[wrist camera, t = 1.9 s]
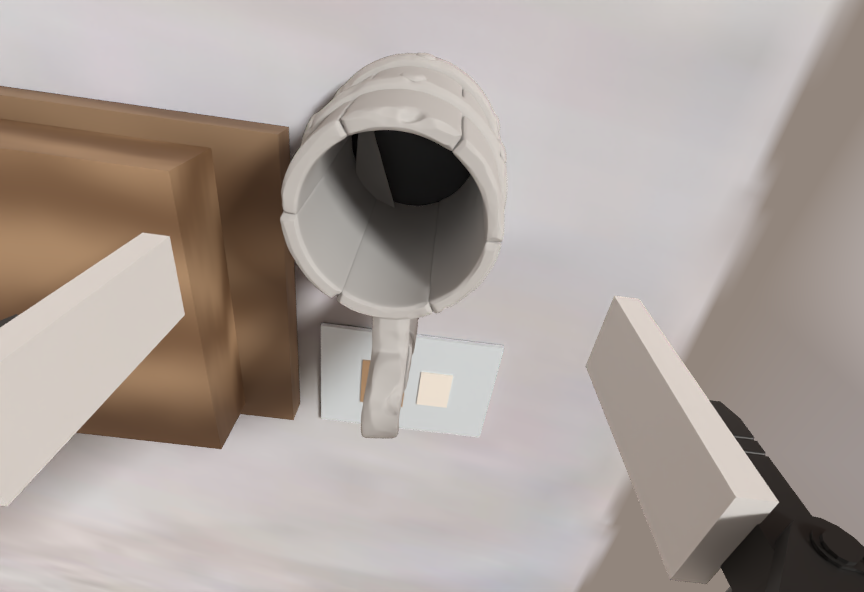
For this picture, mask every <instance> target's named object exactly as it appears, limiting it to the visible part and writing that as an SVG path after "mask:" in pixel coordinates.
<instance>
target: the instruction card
mask: <svg viewBox="0 0 864 592" xmlns="http://www.w3.org/2000/svg"><path fill="white" fill-rule="evenodd" d="M371 351H372V329H368V328H360V327H352V326H344V325H336V324H328V323H322V324H321V419H324V420H333V421H341V422H350V423H358V424H361V413H362V407H363V400H364V394H365V388H366V383H367V377H368V371H369V366H370V360H371ZM503 352H504V345H496V344H488V343H480V342H472V341H464V340H456V339H448V338H440V337H432V336H424V335H417V336H416V342H415V348H414V353H413V355H412V360H411V367H410V371H409V378H408V382H407V386H406V389H405V391H404V393H403V397H402V404H401V409H400V415H399V428H401V429H410V430H418V431H427V432H436V433H444V434H453V435H461V436H470V437H478V438H480V434H481V430H482V427H483V423H484V420H485V416H486V412H487V409H488V405H489V402H490V398H491V395H492V391H493V387H494V384H495V380H496V377H497V373H498V369H499V366H500V362H501V359H502V355H503Z"/></svg>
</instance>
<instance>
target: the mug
mask: <svg viewBox="0 0 864 592" xmlns="http://www.w3.org/2000/svg"><path fill="white" fill-rule="evenodd" d="M375 130H397V131H403V132H408V133H413V134H416V135H419V136H422V137H425V138H427V139H430V140H432V141H434V142H436V143H438V144H439V145H441V146H443V147H445V148H446V149H448V150H450V151H452V152H453V154H454V155H455V156H456V157H457V158H458V159H459V160H460V161H461V163H462V164H463V165H464V166H465V167H466V168H467V170H468V171H469V173H470V176H469V177H468V179H467V180H466V182H465V183H464V184H463V185H462V186H461V187H460V188H459V189H458V190H457V191H456V192H455V193H453V194H452V195H450V196H449V197H447V198H444V199H442V200H440V201H439V202H435V203H432V204H428V205H422V206H413V205H405V204H401V203H397V202H394V201H393V199H392V195H391V192H390V188H389V185H388V181H387V177H386V174H385V170H384V167H383V163H382V160H381V156H380V152H379V149H378V145H377V142H376V138H375V135H374V131H375ZM499 131H500V122H499V119H498V116H497V115H496V114H495V113H494V111H493V108H492V106H491V104H490V102H489V100H488V98H487V97H486V95H485V94H484V92H483V91H482V89H481V88H480V86H479V85H478V84H477V83H476V82H475V81H474V80H473V79H472V78H471V77H470V76H469V75H468V74H466V73H465V72H464V71H462V70H461V69H460V68H458V67H457V66H455V65H454V64H452V63H450V62H447V61H445V60H443V59H440V58H437V57H434V56H433V55H431V54H428V53H417V54H416V53H405V54H395V55H392V56H388V57H384V58H382V59H379V60H377V61H374V62H372V63H370V64H369V65H367V66H365V67H363V68H362V69H361V70H359V71H358V72H357V73H356V74H354V75H353V76H352V77H351V78H350V79H349V80H348V81H347V82H346V84H345V85H344V86H342V87H341V88H340V89H339V90H338V91H337V93H336V94H335V96H334V99H332V100H331V101H330V102H329V103H328V104H327V105H326V106H325V107H324V108H322V109H321V110H320V111H319V112H318V113H315V114H314V115H313V116H312V117H311V119H310V121H309V123H308V124H307V126H306V129H305V133H304V135H303V139H302V143H301V146H300V148H299V149H298V151H297V152H296V154H295V155H294V157H293V159H292V161H291V162H290V164H289V167H288V169H287V171H286V174H285V177H284V180H283V184H282V188H281V196H282V207H283V210H284V211H283V213H282V215H281V217H280V222H281V226H282V231H283V235H284V238H285V241H286V244H287V247H288V249H289V251H290V253H291V255H292V256H293V258H294V260H295V261H296V263H297V265H298V267H299V268H300V269H301V271H302V272H303V273H304V275H305V276H306V277H307V278H308V279H309V281H310V282H311V283H312V284H313V285H314V286H315V287H316V288H317V289H319V290H320V291H321V292H323V293H324V294H326V295H327V296H328V297H330V298H333V297H334V296H336V295H337V294H338V296H337V301H338V302H339V303H340V304H342V305H344V306H346V307H347V308H349V309H351V310H353V311H356V312H358V313H361V314H365V315H369V316H372V351H371V360H370V366H369V371H368V377H367V383H366V388H365V394H364V400H363V407H362V413H361V433H362V436H363V437H365V438H394V437H396V436H397V435H398V431H399V415H400V409H401V404H402V397H403V393H404V391H405V389H406V386H407V382H408V378H409V371H410V367H411V360H412V355H413V353H414V348H415V342H416V336H417V327H418V319H419V318H420V317H424V316H427V315H430V314H432V313H433V311H434V312H435V313H440V312H441V311H443V310H444V309H445V308H449V307H451V306H453V305H455V304H457V303H458V302H460V301H461V300H462V299H463V298H465V297H466V296H467V295H469V294H470V293H471V292H473V291H474V290H475V289H476V288H477V287H478V286H479V285H480V284H481V283H482V282H483V281H484V279H485V278H486V277H487V275H488V274H489V272H490V271H491V269H492V267H493V266H494V264H495V262H496V260H497V257H498V255H499V252H500V249H501V242H502V240H503V236H504V209H505V205H506V198H507V169H506V164H505V163H506V160H507V157H506V150H505V147H504V145H503V143H502V142H501V137H500V133H499ZM357 133H358V142H357V155H356V161H355V158H354V154H353V149H352V137H351V135H353V134H357Z"/></svg>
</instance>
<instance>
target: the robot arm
mask: <svg viewBox="0 0 864 592" xmlns="http://www.w3.org/2000/svg"><path fill="white" fill-rule="evenodd" d="M184 315H185V313H184V308H183V302H182V297H181V292H180V287H179V282H178V277H177V272H176V266H175V261H174V256H173V251H172V246H171V241H170V236H164V235H157V234H149V233H141V234H140V235H138V236H137V237H135V238H134V239H132V240H131V241H129V242H128V243H126V244H125V245H123V246H122V247H120V248H119V249H117V250H116V251H114V252H113V253H111V254H110V255H108V256H107V257H105V258H104V259H102V260H101V261H99V262H98V263H96V264H95V265H93V266H92V267H90V268H89V269H87V270H86V271H84V272H83V273H81V274H80V275H78V276H77V277H75V278H74V279H72V280H71V281H69V282H68V283H66V284H65V285H63V286H62V287H60V288H59V289H57V290H56V291H54V292H53V293H51V294H50V295H48V296H47V297H45V298H44V299H42V300H41V301H39V302H38V303H36V304H35V305H33V306H32V307H30V308H29V309H27V310H26V311H24V312H23V313H21V314H20V315H18V314H15V315H13V316H10V317H8V318H5V319H3V320H0V506H9V504H10V503H11V502H12V501H13V500H14V499H15V498H16V497H17V496H18V495H19V494H20V493H21V492H22V490H23V489H24V488H25V487H26V486H27V485H28V484H29V483H30V482H31V481H32V480H33V479H34V477H35V476H36V475H37V474H38V473H39V472H40V471H41V470H42V469H43V468H44V467H45V466H46V464H47V463H48V462H49V461H50V460H51V459H52V458H53V457H54V456H55V455H56V454H57V453H58V452H59V450H60V449H61V448H62V447H63V446H64V445H65V444H66V443H67V442H68V441H69V440H70V439H71V437H72V436H73V435H74V434H75V433H76V432H77V431H78V430H79V429H80V428H81V427H82V426H83V425H84V423H85V422H86V421H87V420H88V419H89V418H90V417H91V416H92V415H93V414H94V413H95V412H96V410H97V409H98V408H99V407H100V406H101V405H102V404H103V403H104V402H105V401H106V400H107V399H108V398H109V396H110V395H111V394H112V393H113V392H114V391H115V390H116V389H117V388H118V387H119V386H120V385H121V383H122V382H123V381H124V380H125V379H126V378H127V377H128V376H129V375H130V374H131V373H132V372H133V370H134V369H135V368H136V367H137V366H138V365H139V364H140V363H141V362H142V361H143V360H144V359H145V358H146V356H147V355H148V354H149V353H150V352H151V351H152V350H153V349H154V348H155V347H156V346H157V345H158V343H159V342H160V341H161V340H162V339H163V338H164V337H165V336H166V335H167V334H168V333H169V332H170V331H171V329H172V328H173V327H174V326H175V325H176V324H177V323H178V322H179V321H180V320H181V319H182V318H183V316H184ZM586 368H587V371H588V373H589V376H590V378H591V381H592V383H593V386H594V388H595V391H596V394H597V396H598V399H599V401H600V404H601V406H602V409H603V411H604V414H605V416H606V419H607V421H608V424H609V426H610V429H611V432H612V434H613V437H614V439H615V442H616V444H617V447H618V449H619V452H620V454H621V457H622V459H623V462H624V464H625V467H626V470H627V472H628V475H629V477H630V480H631V482H632V485H633V487H634V490H635V492H636V495H637V497H638V500H639V502H640V505H641V508H642V510H643V513H644V515H645V518H646V520H647V523H648V525H649V528H650V530H651V533H652V535H653V538H654V540H655V543H656V546H657V548H658V550H659V553H660V556H661V558H662V561H663V563H664V566H665V568H666V571H667V573H668V576H669V578H670V580H675V581H685V582H693V583H702V584H707V583H708V582H709V581H710V580H711V578H712V577H713V576H714V575H715V574H716V573H717V572H718V571H719V569H720V568H721V569H722V571H723V573H724V575H725V577H726V579H727V581H728V583H729V585H730V587H729V588H728V590H727V591H726V592H864V547H863V546H862V545H861V544H860V543H859V542H858V541H857V540H856V539H855V538H854V537H853V536H851V535H850V534H848V533H847V532H845V531H844V530H842V529H841V528H840V527H838V526H836V525H834V524H832V523H830V522H828V521H826V520H824V519H821V518H818V517H813V516H812V515H811V514H810V513H809V511H808V510H807V509H806V507H805V506H804V504H803V503H802V502H801V501H800V499H799V498H798V496H797V495H796V494H795V492H794V491H793V490H792V488H791V487H790V486H789V484H788V483H787V481H786V480H785V479H784V477H783V476H782V475H781V473H780V472H779V471H778V469H777V468H776V466H775V465H774V464H773V462H772V461H771V460H770V458H769V457H767V456H765V451H764V450H763V449H762V448H761V446H760V445H759V443H758V442H757V441H754V437H753V435H752V434H751V432H750V431H749V430H748V428H747V427H746V426H745V424H744V423H743V422H742V420H741V419H740V418H739V417H738V416H737V415H735V414H734V413H733V412H732V411H731V410H730V409H728V408H727V407H726V406H725V405H724V404H723V403H721V402H719V401H711V400H708V398H707V397H706V395H705V394H704V393H703V391H702V389H701V388H700V387H699V385H698V384H697V382H696V381H695V379H694V378H693V376H692V375H691V373H690V372H689V371H688V369H687V368H686V366H685V365H684V363H683V362H682V360H681V359H680V357H679V356H678V355H677V353H676V352H675V350H674V349H673V347H672V346H671V344H670V343H669V341H668V340H667V339H666V337H665V336H664V334H663V333H662V331H661V330H660V328H659V327H658V326H657V324H656V323H655V321H654V320H653V318H652V317H651V315H650V314H649V312H648V311H647V310H646V308H645V307H644V305H643V304H642V302H641V301H640V299H635V298H628V297H620V296H614V298H613V300H612V303H611V305H610V307H609V310H608V312H607V315H606V317H605V320H604V322H603V325H602V327H601V330H600V332H599V335H598V337H597V340H596V342H595V344H594V347H593V349H592V352H591V354H590V357H589V359H588V362H587V364H586Z"/></svg>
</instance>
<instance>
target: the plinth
mask: <svg viewBox="0 0 864 592" xmlns="http://www.w3.org/2000/svg"><path fill="white" fill-rule="evenodd" d="M289 164H290V145H289V127H285V126H278V125H271V124H264V123H257V122H250V121H243V120H236V119H229V118H222V117H215V116H208V115H201V114H194V113H187V112H180V111H173V110H166V109H159V108H152V107H144V106H137V105H130V104H123V103H116V102H109V101H102V100H95V99H88V98H81V97H74V96H67V95H60V94H53V93H46V92H39V91H32V90H25V89H18V88H11V87H4V86H0V320H3V319H5V318H8V317H10V316H13V315H15V314H18V315H20V314H21V313H23V312H24V311H26V310H27V309H29V308H30V307H32V306H33V305H35V304H36V303H38V302H39V301H41V300H42V299H44V298H45V297H47V296H48V295H50V294H51V293H53V292H54V291H56V290H57V289H59V288H60V287H62V286H63V285H65V284H66V283H68V282H69V281H71V280H72V279H74V278H75V277H77V276H78V275H80V274H81V273H83V272H84V271H86V270H87V269H89V268H90V267H92V266H93V265H95V264H96V263H98V262H99V261H101V260H102V259H104V258H105V257H107V256H108V255H110V254H111V253H113V252H114V251H116V250H117V249H119V248H120V247H122V246H123V245H125V244H126V243H128V242H129V241H131V240H132V239H134V238H135V237H137V236H138V235H140V234H141V233H149V234H157V235H164V236H170V241H171V246H172V251H173V256H174V261H175V266H176V272H177V277H178V282H179V287H180V292H181V297H182V302H183V308H184V313H185V315H184V316H183V318H182V319H181V320H180V321H179V322H178V323H177V324H176V325H175V326H174V327H173V328H172V329H171V331H170V332H169V333H168V334H167V335H166V336H165V337H164V338H163V339H162V340H161V341H160V342H159V343H158V345H157V346H156V347H155V348H154V349H153V350H152V351H151V352H150V353H149V354H148V355H147V356H146V358H145V359H144V360H143V361H142V362H141V363H140V364H139V365H138V366H137V367H136V368H135V369H134V370H133V372H132V373H131V374H130V375H129V376H128V377H127V378H126V379H125V380H124V381H123V382H122V383H121V385H120V386H119V387H118V388H117V389H116V390H115V391H114V392H113V393H112V394H111V395H110V396H109V398H108V399H107V400H106V401H105V402H104V403H103V404H102V405H101V406H100V407H99V408H98V409H97V410H96V412H95V413H94V414H93V415H92V416H91V417H90V418H89V419H88V420H87V421H86V422H85V423H84V425H83V426H82V427H81V428H80V429H79V430H78V431H77V432H76V433H83V434H92V435H101V436H110V437H119V438H128V439H136V440H145V441H154V442H163V443H172V444H181V445H190V446H198V447H207V448H216V449H222V447H223V445H224V443H225V441H226V439H227V438H228V436H229V434H230V432H231V430H232V428H233V426H234V424H235V422H236V421H237V419H238V417H239V415H240V414H246V415H255V416H263V417H272V418H280V419H289V420H294V417H295V415H296V412H297V410H298V407H299V404H300V389H299V365H298V340H297V316H296V291H295V267H294V258H293V256H292V255H291V253H290V251H289V249H288V247H287V244H286V241H285V238H284V235H283V231H282V226H281V222H280V217H281V215H282V213H283V211H284V210H283V207H282V196H281V188H282V184H283V180H284V177H285V174H286V171H287V169H288V167H289Z"/></svg>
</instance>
